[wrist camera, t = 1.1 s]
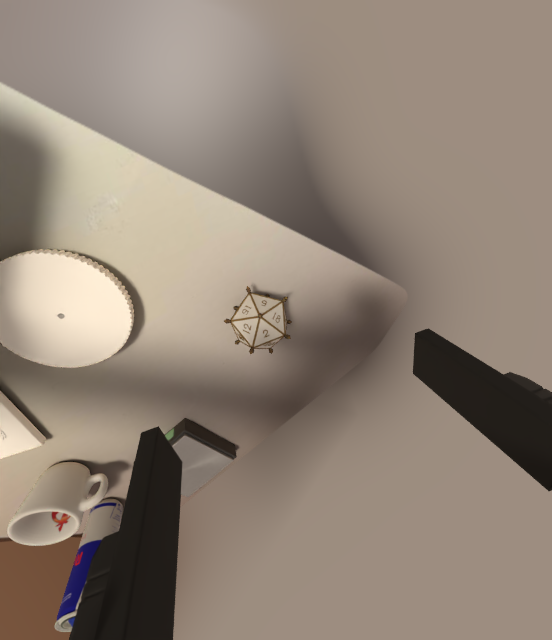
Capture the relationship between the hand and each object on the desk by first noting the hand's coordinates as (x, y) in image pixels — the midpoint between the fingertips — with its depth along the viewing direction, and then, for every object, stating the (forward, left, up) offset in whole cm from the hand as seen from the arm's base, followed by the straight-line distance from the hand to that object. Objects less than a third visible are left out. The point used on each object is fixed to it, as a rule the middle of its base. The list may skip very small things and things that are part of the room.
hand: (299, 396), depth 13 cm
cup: (+21, -36, -25) cm, 48 cm away
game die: (+7, 0, -25) cm, 26 cm away
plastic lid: (-3, -20, -25) cm, 32 cm away
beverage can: (+32, -38, -25) cm, 55 cm away
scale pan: (+28, -21, -22) cm, 42 cm away
